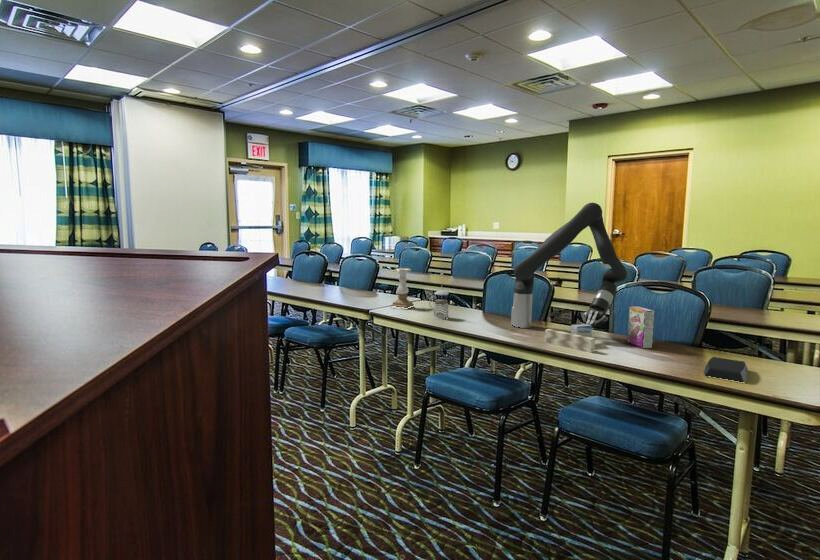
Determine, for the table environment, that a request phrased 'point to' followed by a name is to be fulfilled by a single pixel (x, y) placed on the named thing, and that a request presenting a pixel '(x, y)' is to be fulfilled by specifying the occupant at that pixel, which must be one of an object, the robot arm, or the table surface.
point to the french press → (443, 304)
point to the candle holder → (402, 290)
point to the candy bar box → (640, 326)
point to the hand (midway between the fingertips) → (586, 332)
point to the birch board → (570, 340)
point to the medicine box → (582, 330)
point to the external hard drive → (727, 369)
